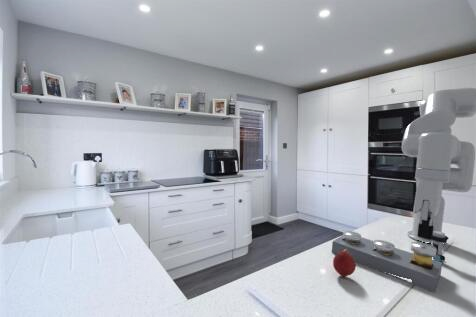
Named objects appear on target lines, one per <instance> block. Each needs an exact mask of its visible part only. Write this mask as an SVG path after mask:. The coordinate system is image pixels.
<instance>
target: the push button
mask: <svg viewBox="0 0 476 317" xmlns="http://www.w3.org/2000/svg"><path fill="white" fill-rule="evenodd" d="M431 240H432V244H430V245H432V246H434V247H435V248H436V249H437V251H436V257H433V259H434V260H436V261H439V262H442V265H443V266H446V264H447V262H446V261H445V260H446V257H445V256H444V255H443V247H444V245H443V243H445V244H446V243H447V241H448V240H449V237H448V236H447V235H446V233H445V232H443V231H441V232H439V231H433V236H432V239H431Z"/></svg>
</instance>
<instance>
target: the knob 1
mask: <svg viewBox="0 0 476 317" xmlns="http://www.w3.org/2000/svg"><path fill="white" fill-rule="evenodd" d="M342 236H343V239H344V240H345V241H346V242H349V243H352V244H355V245H357V244H358V243H360V242H361V237H362V234H361V233H359V232H356V231H352V230H344V231H343V233H342Z"/></svg>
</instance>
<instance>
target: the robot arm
mask: <svg viewBox="0 0 476 317" xmlns="http://www.w3.org/2000/svg"><path fill="white" fill-rule="evenodd" d="M419 115H420V116H419V117H418V118H416V119H414V120H413V121H411V123H409V124H408V126H407V127H406V128H405V130H404V134H403V137H402V141H401V151H402V153H403V154H404V155H405V156H407V157H409V158H416V165H415V175H414V179H415V184H416V185H415V186H416V187H415V188H416V191H415V196H414V204H413V210H412V211H413V222H412V230H410V231H407V236H408V237H409V238H410V239H412V238H413V239H412V240H414V239H415V241H417V240H419V241H418V242H420V241H423V242H429V243H432V240H431V239H432V236H433V231H439V232H443V231H442V229H443V221H444V213H445V204H446V201H445V198H444V196H443V195H442V194H443V191H448V192H456V193H467V192H469V191H470V190H471V189H472V186H473V183H474V182H473V180H474V171H475V161H476V148H475V146H474V144H473V143H472V142H470V141H461V140H459V138H458V137H457V136H456V135H454V134H452V126H453V125H454V124H455V122H456V120H457V119H458V118H463V119H464V118H471V117H474V116H475V115H476V88H475V87H465V88H464V87H461V88H450V89H441V90H436V91H435V92H432V93H430V94H429V96H428V97H427V98H424V99H423V100H421V102H420V104H419ZM452 165H455V166H457V167H452ZM423 242H422V243H423Z"/></svg>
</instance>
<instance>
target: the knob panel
mask: <svg viewBox="0 0 476 317" xmlns="http://www.w3.org/2000/svg"><path fill="white" fill-rule="evenodd" d="M373 244H374V240H371V239H368V238H365V237H362V236H361V242H360V243H358V244H357V245H355V244H352V243H349V242H346V241H345V240H344V239H343V235H341V236H339V237H338V238H336V239H334V240H333V241H332V244H331V253H333V254H334V255H335V254H336V255H337V254H338V253H340V252H342V251H343V250H345V249H347V250H348V254H350V255H351V256H352V258H353V259H354V262H355V263H357V264H358V263H359V264H361V265H363V266H366V267H369V268H371V269H373V268H374V270H376V269H377V270H376V271H378V270H380V271H379V272H381V271H383V272H382V273H384V272H386V273H390V274H393V275H396V276H399V277H403V278H407V279H411V280H412V283H411V284H412V285H415V286H417V287H420V288H422V289H425V290H427V291H430V292H432V293H436V290H437V287H438V284H439V281H440V278H441V274H442V267H443V264H442V262H439V261H436V260H432V265H431V269H426V268H423V267H420V266H417V265H414V264H412V261H413V252H409V251H407V250H403V249H400V248H396V247H395V248H394V253H393V254H391V256H387V255H385V254H382V253H379V252H376V251H375V249H374V248H373ZM386 273H385V274H386Z"/></svg>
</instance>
